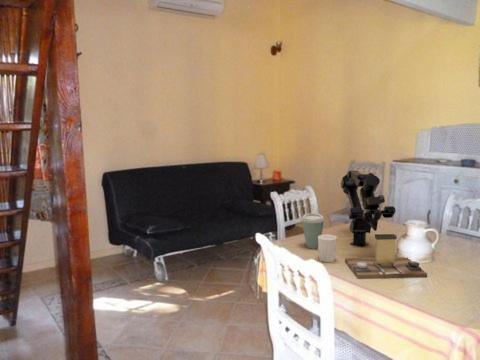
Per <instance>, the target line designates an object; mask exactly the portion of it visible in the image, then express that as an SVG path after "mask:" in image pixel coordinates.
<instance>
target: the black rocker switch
mask: <svg viewBox="0 0 480 360" xmlns="http://www.w3.org/2000/svg"><path fill="white" fill-rule="evenodd" d="M408 264H409V265H411V266H419V267H420V262H417V261H412V262H408Z"/></svg>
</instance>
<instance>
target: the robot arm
mask: <svg viewBox="0 0 480 360" xmlns="http://www.w3.org/2000/svg"><path fill="white" fill-rule="evenodd" d="M380 182H381V180H380V178H379V177H378V176H377V175H374V172H368V173H362V172H360V171H358V170H349V171H347V172H346V174H345V175H344V176H343V177H342V178H341V181H340V188H341V189H342V192H343V193H345V195H347V197H348V201H349V204H350V209H349V211H348V219H349V220H351V222H350V223H349V232H350V233H352V234H353V237H352V242H351V243H350V245H351V246H356V247H360V248H364V247H365V246H368V245H369V242H367V233H368V234H371V231H372V230H373V231H374V232H375V231H377V230H378V223H379V220H380V219H381V218H382V217H383V218H384V219H391V218H393V217H394V215H395V214H396V208H395V206H393V205H391V206H390V205H389V206H386V205H385V206H384V207H383V208H382V209H379V208H380V205H381V204H384V203H385V202H386V201H385V195H384V194H379V195H378V196H376V194H375V192H376V191H377V190H378V186H379V185H380ZM359 188H360V189H359ZM358 189H359V195H360V198H361V200H360V198H359V195H358ZM361 202H362V203H361Z"/></svg>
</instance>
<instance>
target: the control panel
mask: <svg viewBox="0 0 480 360" xmlns="http://www.w3.org/2000/svg"><path fill="white" fill-rule="evenodd" d="M405 257H406V256H404V257H403V256H399V257H397V256H395V263H391V264H392V265H393V268H381V267H380V266H379V265H378V264H377V263H376V262H375V257H355V258H354V257H353V258H352V257H350V258H344V263H345V264H346V265H347V267H348V268H349V269H350V270H351V272H352V273H353V274H354V276H355V277H356V278H357V279H362V280H363V279H394V278H395V279H397V278H398V279H399V278H428V272H426V270H424V269H422V267H420V265H419V266H411V265H409V264H408V262H413V261H412V260H411V259H410V258H409V257H407V258H405ZM408 258H409V259H408ZM357 262H365V263H367V268H365V269H361V268H358V267H357Z"/></svg>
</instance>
